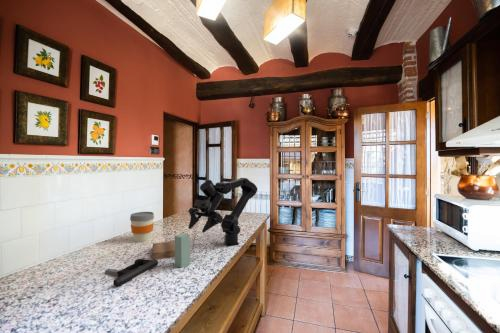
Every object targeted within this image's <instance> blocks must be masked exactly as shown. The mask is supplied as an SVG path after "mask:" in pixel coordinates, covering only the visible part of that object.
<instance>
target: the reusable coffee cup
mask: <svg viewBox="0 0 500 333" xmlns="http://www.w3.org/2000/svg"><path fill="white" fill-rule="evenodd" d="M129 218H130V219H129V220H130V228H131V233H132V237H133V238H132V239H133V242H134V243H146V242H150V240H152V232H153V230H154V224H155V222H154V218H155V215H154V212H153V211H138V212H134V213H133V212H132V213H131V214H130V217H129Z"/></svg>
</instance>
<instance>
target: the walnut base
mask: <svg viewBox="0 0 500 333" xmlns="http://www.w3.org/2000/svg"><path fill="white" fill-rule="evenodd" d="M167 258H175V240H170V241H164V242H161V241H160V242H155V243H154V242H153V243H152V260H160V259H161V260H162V259H167Z"/></svg>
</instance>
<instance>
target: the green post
mask: <svg viewBox="0 0 500 333" xmlns="http://www.w3.org/2000/svg"><path fill="white" fill-rule="evenodd" d="M174 241H175V257H174V267H175V266H176V267H178V268H181V269H183V268H186V267H187V266H189V265H190V264H191V245H190V244H191V236H190V234H187V233H184V232H183V233H179V234H175V235H174Z"/></svg>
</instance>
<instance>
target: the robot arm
mask: <svg viewBox="0 0 500 333" xmlns="http://www.w3.org/2000/svg"><path fill="white" fill-rule="evenodd" d="M239 187H240V189H241V196H240V198H239V199H238V201H237V202H236V204H235V206H234V207H233V209H232V211H231V212H230V214H225V215H224V217H223V216H222V215H221V213H220V212H219V211H218V209H219V208H218V206H219V204H220V203H221V202H225V198H224V197H225V196H223V195H227V194H229V193H231V191H232V190H234V189H237V188H239ZM199 190H200V191H201V192H202V193H203V195H204V196H205V197H206V198H208V199H204V200H203V199H202V200H201V199H195V202H194V205H193V207H190V208H188V209H189V210H188V214H189V215H190V219H189V224H188V230H191V229H192V228H193V227H195V226H196V224H197V223H199V221H200V219H202V217H204V218H207V220H206V222H205V224H204V226H203V228H202V231H201V232H202V233H206V232H207V231H208V230H210V229H211V228H213V227H215V226H216V225H219V224H221V225H220V227H221V229H222V233H224V236H223V237H224V240H223V243H224V244H225V245H226V246H227V247H231V246H235V245H237V246H238V245H240V243H239V238H238V236H239V234H240V233H241V230H242V229H241V227H240V226H239V218H240V216H241V214H242V212H243V210H244V209H245V207H246V206H247V204H248V202H249V200H250V199H252V198H254V196H255V195H256V194H257V193H258V187H257V185H256V184H255V183H254V182H252V181H251V180H249V178H247V177H240V178H237V179H233V180H231V181H227V182H225V181H224V182H223V181H222V182H220V181H219V182H216V183H215V184H214V183H213V181H212V180H211V179H207V180H206V181H204V182H203V183H202V184H200V186H199Z"/></svg>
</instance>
